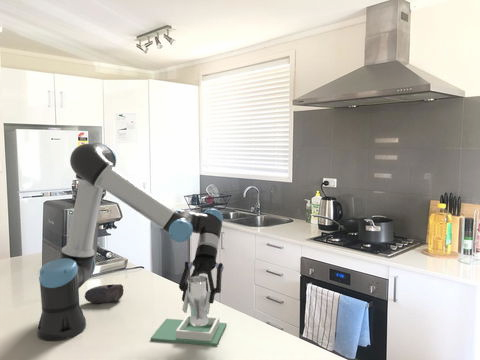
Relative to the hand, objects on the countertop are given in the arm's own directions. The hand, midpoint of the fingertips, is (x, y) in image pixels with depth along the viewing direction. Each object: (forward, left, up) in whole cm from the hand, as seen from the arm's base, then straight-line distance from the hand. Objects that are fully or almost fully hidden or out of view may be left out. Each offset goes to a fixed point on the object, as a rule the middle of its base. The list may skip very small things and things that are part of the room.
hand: (195, 311), depth 127 cm
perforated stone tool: (-45, +22, -9) cm, 51 cm away
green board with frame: (-3, +3, -9) cm, 10 cm away
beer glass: (0, +4, -6) cm, 7 cm away
